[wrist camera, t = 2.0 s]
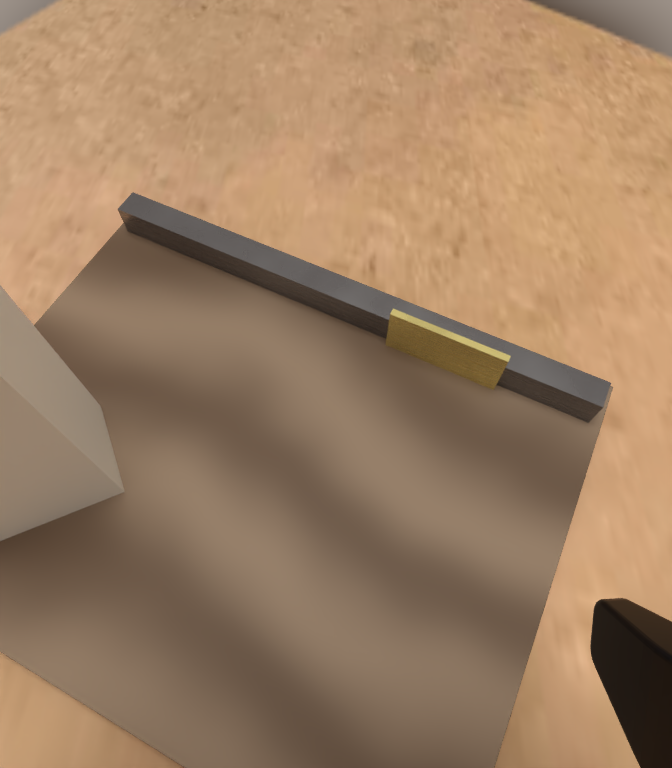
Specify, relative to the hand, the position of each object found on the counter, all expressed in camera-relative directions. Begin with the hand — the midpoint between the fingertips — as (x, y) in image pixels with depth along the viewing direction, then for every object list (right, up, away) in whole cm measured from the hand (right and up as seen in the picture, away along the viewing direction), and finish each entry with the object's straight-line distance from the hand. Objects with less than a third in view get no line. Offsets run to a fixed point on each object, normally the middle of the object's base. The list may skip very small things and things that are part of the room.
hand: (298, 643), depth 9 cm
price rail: (+1, +7, +18) cm, 19 cm away
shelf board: (-3, 0, +15) cm, 16 cm away
